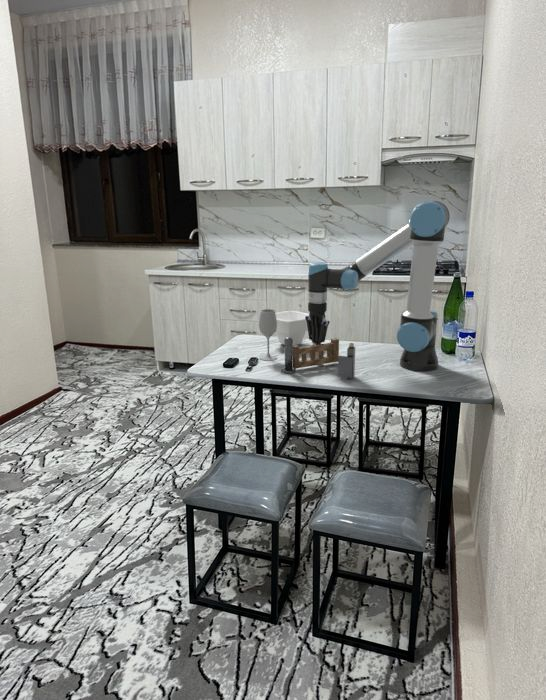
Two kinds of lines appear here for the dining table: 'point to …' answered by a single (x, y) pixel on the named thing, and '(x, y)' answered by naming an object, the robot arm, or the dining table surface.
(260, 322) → the wineglass
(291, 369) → the hinge post
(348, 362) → the stile post
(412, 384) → the dining table surface
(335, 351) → the gate
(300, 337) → the bowl
